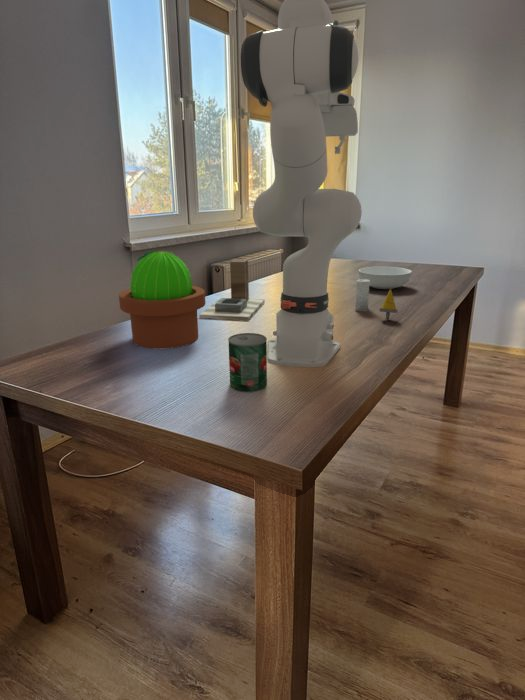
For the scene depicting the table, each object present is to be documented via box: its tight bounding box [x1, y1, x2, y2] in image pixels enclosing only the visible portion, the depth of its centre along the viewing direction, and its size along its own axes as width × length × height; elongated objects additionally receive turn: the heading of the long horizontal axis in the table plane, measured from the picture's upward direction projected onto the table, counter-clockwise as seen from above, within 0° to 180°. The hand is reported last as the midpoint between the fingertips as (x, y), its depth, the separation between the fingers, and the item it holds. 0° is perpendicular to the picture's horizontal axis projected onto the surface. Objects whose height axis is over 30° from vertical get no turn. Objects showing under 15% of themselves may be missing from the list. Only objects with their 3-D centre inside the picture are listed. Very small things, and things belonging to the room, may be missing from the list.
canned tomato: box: [227, 332, 268, 393], centre depth 100 cm, size 8×8×11 cm
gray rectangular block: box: [354, 278, 370, 312], centre depth 160 cm, size 4×4×10 cm
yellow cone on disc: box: [379, 289, 398, 322], centre depth 148 cm, size 5×5×10 cm
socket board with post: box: [198, 259, 266, 322], centre depth 160 cm, size 24×16×16 cm, turn 168°
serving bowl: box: [358, 266, 413, 290], centre depth 195 cm, size 21×21×7 cm
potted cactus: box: [118, 250, 206, 349], centre depth 129 cm, size 22×22×25 cm
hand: (320, 153), depth 138 cm, fingers open, 8 cm apart
